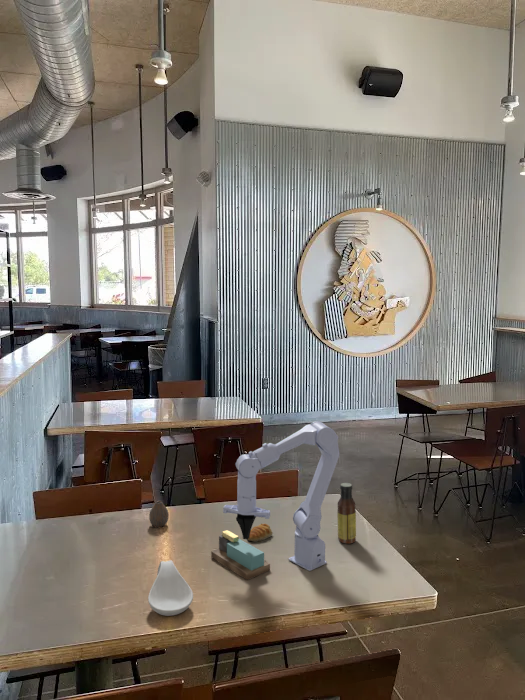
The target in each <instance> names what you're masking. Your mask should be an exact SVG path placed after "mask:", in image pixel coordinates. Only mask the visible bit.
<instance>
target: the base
mask: <svg viewBox="0 0 525 700" xmlns="http://www.w3.org/2000/svg"><path fill="white" fill-rule="evenodd" d="M230 542H231V541H229V540H228V539H226V538H224V537H222V534H221V535H218V548H217V549H215V550H212V551H211V552H210V555H211V558H212V560H213V559H214V560H215V561H216V562H218V563H220V564H221V565H222V566H224V567H226V568H228V570H231V571H232V572H234V573H235V574H237V575H238V576H240V577H242V578H243V579H245V580H246V581H248V580H251V579H253V578H255V577H258V576H260V575H262V574H265V573H267V572H269V571H271V563H269V562H268V561H266V560H264V566H261V567H259V568H257V569H254V570H252V571H251V570H249V569H248V568H246V567H244V566H243V565H241V564H240V563H238V562H236V561H235V560H233V559H231V558H230V557H228V556H227V543H230Z"/></svg>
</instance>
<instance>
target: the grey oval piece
mask: <svg viewBox="0 0 525 700" xmlns="http://www.w3.org/2000/svg"><path fill="white" fill-rule="evenodd" d="M148 514H149V515H148V516H149V517H148V519H149V523H150V524H151V525H152V527H154V528H157V527H160V528H162V526H163V527H165V526H166V525H167V523H168V521H169V516H170V515H169V510H168V508H167V506H165V505H164V503H163V501H161V500H158V501H157V500H156V501H155V503H154V504H153V505H152V507H151V509H150V510H149V513H148Z"/></svg>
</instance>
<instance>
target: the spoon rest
mask: <svg viewBox="0 0 525 700" xmlns="http://www.w3.org/2000/svg"><path fill="white" fill-rule="evenodd" d="M156 573H157V576H156V578H155V580H154V581H153V584H152V586H151V587H150V590H149V593H148V596H147V597H148V598H147V600H148V601H147V603H148V605H149V606H150V608H151V609H152V611H154V612H156V613H157V614H159V615H161V616H164V617H165V616H166V617H169V616H171V617H172V616H177V615H179V614H181V613H183V612H185V611H186V610H187V609H188V608H189V607H190V606H191V605H192V603H193V600H194V592H193V590H192V588H191V587H190V585H189V583H188V582H187V581H186V579H185V578H184V577H183V576H182V575H181V573H180V571H179V570H178V568H177V567H176V565H175V564H174V561H173V560H171V559H170V560H167V561H164V560H162V561H160V562H159V565H158V568H157V572H156Z"/></svg>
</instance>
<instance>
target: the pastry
mask: <svg viewBox="0 0 525 700" xmlns="http://www.w3.org/2000/svg"><path fill="white" fill-rule="evenodd" d="M273 534H274V533H273V531H272V528H271V526H270V525H269V524H267V523H260V524H258V525H256V526H252V528H251V531H250V536H249V538H248V539H246V540H247V541H250V542H253V543H254V542H255V543H256V542H261V541H265V540H267V539H269V538H271V537H272V536H273Z"/></svg>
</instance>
